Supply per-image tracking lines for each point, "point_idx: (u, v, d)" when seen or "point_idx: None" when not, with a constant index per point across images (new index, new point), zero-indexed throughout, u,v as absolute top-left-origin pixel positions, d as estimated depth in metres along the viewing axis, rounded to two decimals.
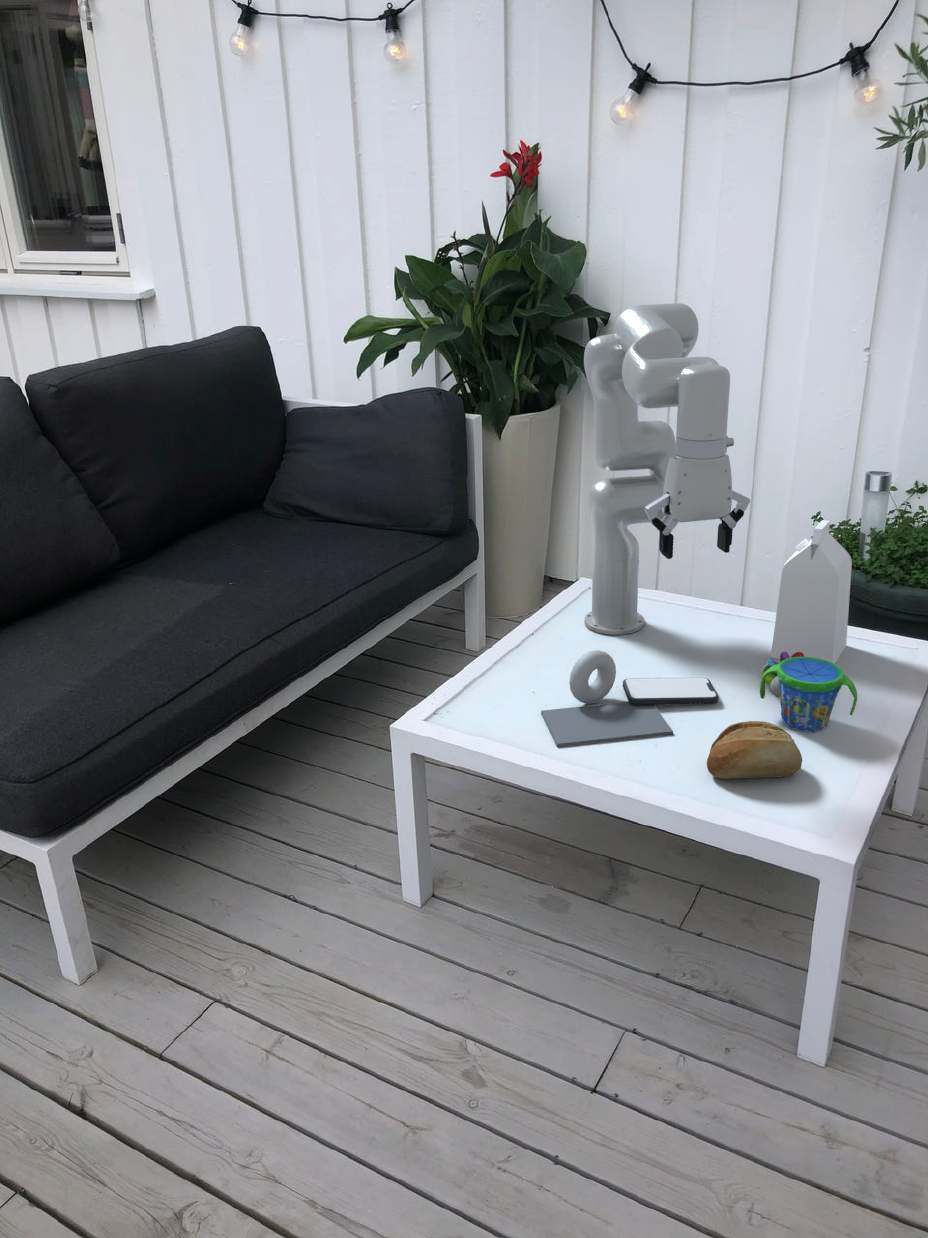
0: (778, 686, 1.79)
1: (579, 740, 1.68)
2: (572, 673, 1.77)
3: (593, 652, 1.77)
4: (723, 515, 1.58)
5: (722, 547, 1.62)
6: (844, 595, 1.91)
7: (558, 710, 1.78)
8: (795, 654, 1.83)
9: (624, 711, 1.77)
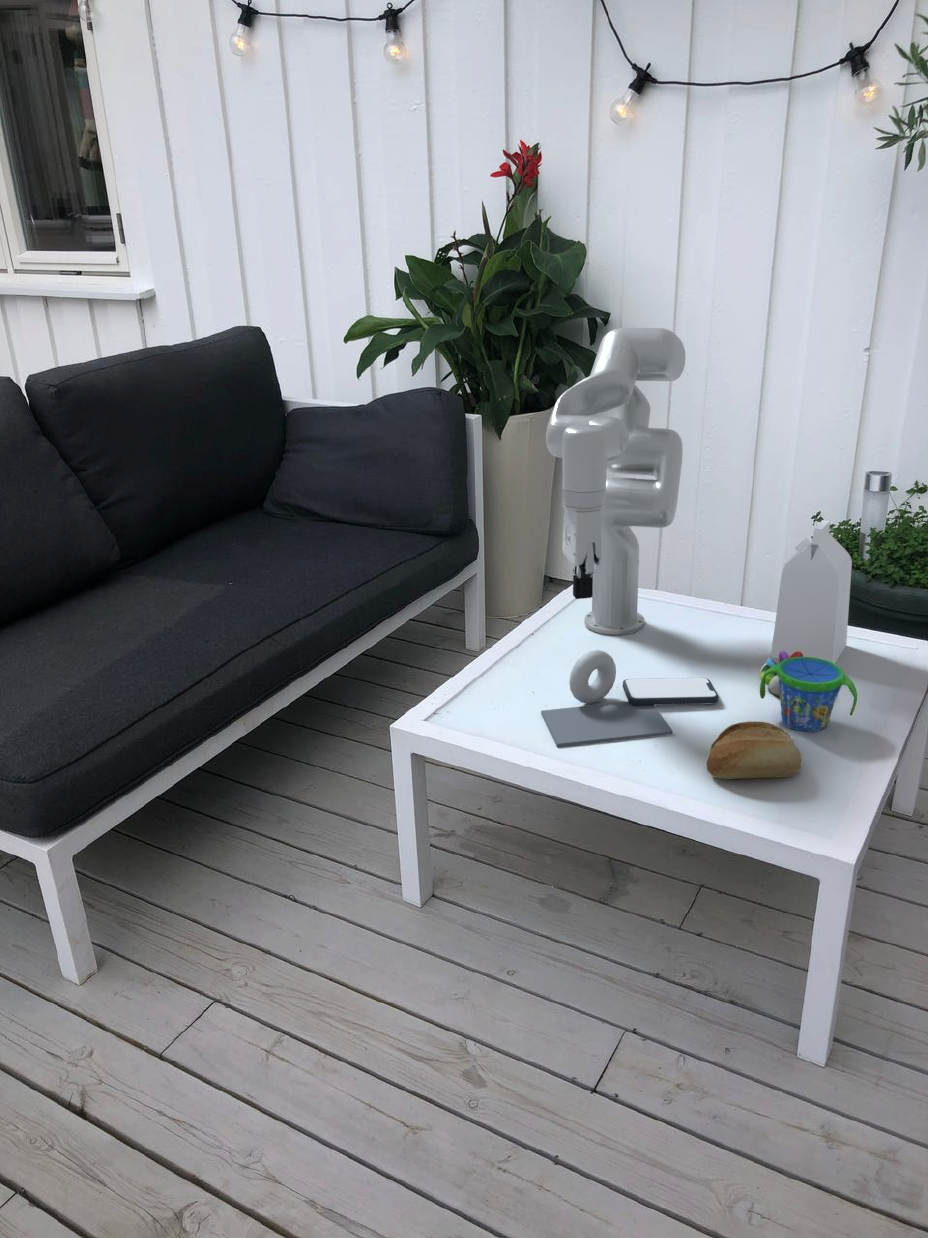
0: (777, 685, 1.79)
1: (579, 740, 1.68)
2: (572, 673, 1.77)
3: (593, 652, 1.77)
4: None
5: None
6: (844, 595, 1.91)
7: (558, 710, 1.78)
8: (794, 654, 1.83)
9: (624, 711, 1.77)
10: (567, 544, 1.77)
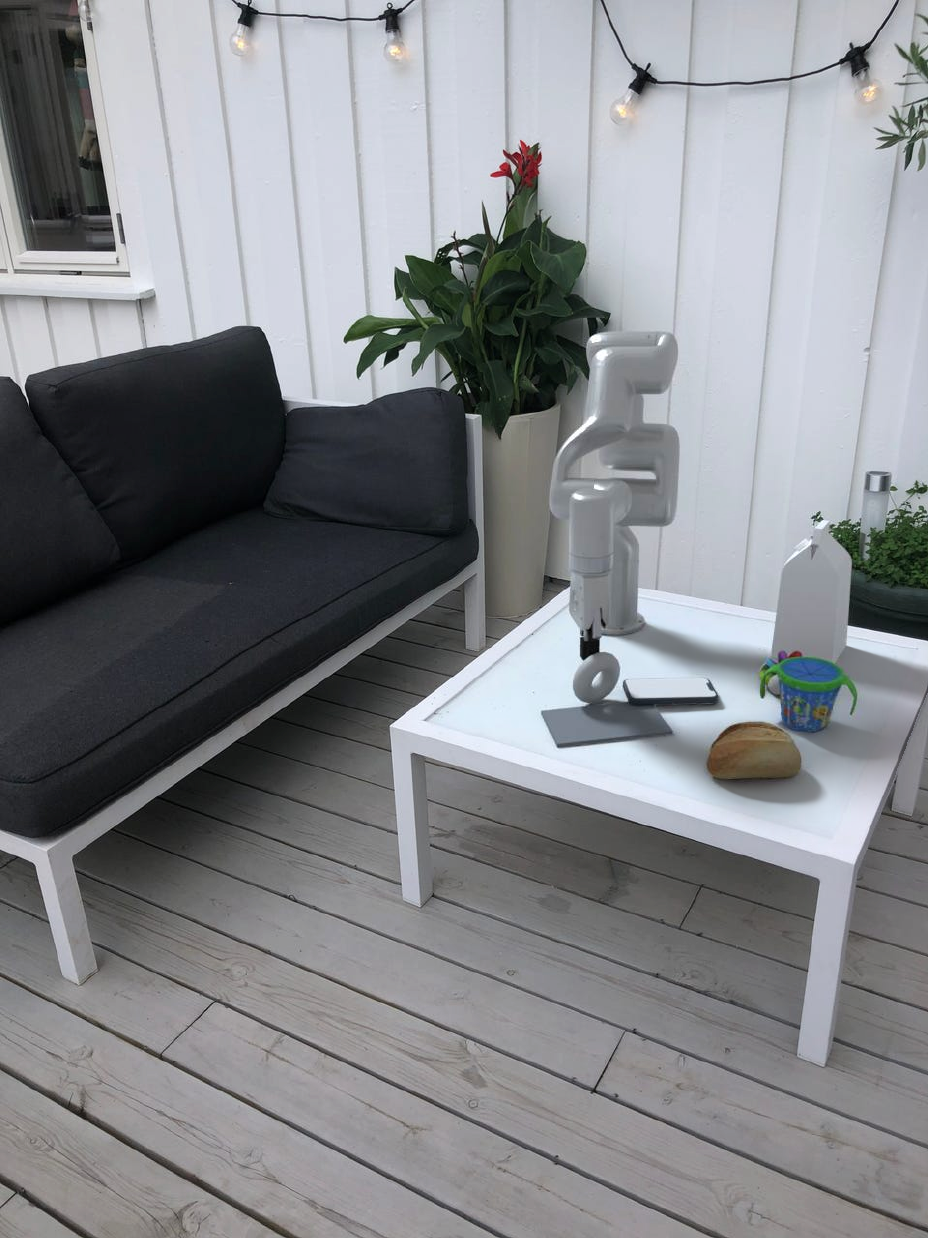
0: (776, 685, 1.80)
1: (579, 740, 1.68)
2: (577, 673, 1.76)
3: (600, 655, 1.76)
4: None
5: None
6: (844, 595, 1.91)
7: (558, 710, 1.78)
8: (793, 653, 1.83)
9: (624, 711, 1.77)
10: (574, 607, 1.77)
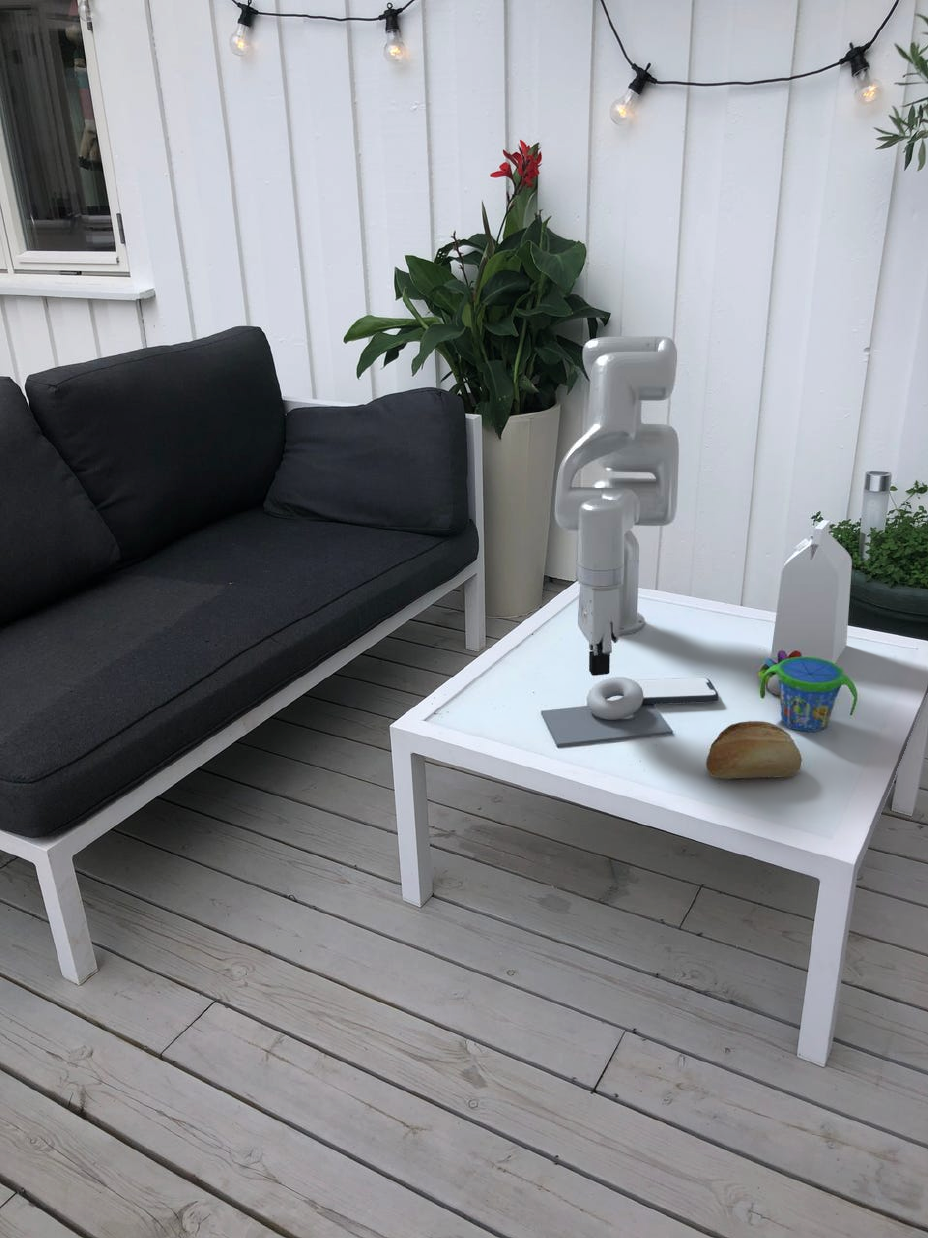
0: (775, 685, 1.80)
1: (579, 740, 1.68)
2: (605, 714, 1.72)
3: (635, 708, 1.72)
4: None
5: None
6: (844, 595, 1.91)
7: (558, 710, 1.78)
8: (792, 653, 1.83)
9: None
10: (583, 620, 1.71)
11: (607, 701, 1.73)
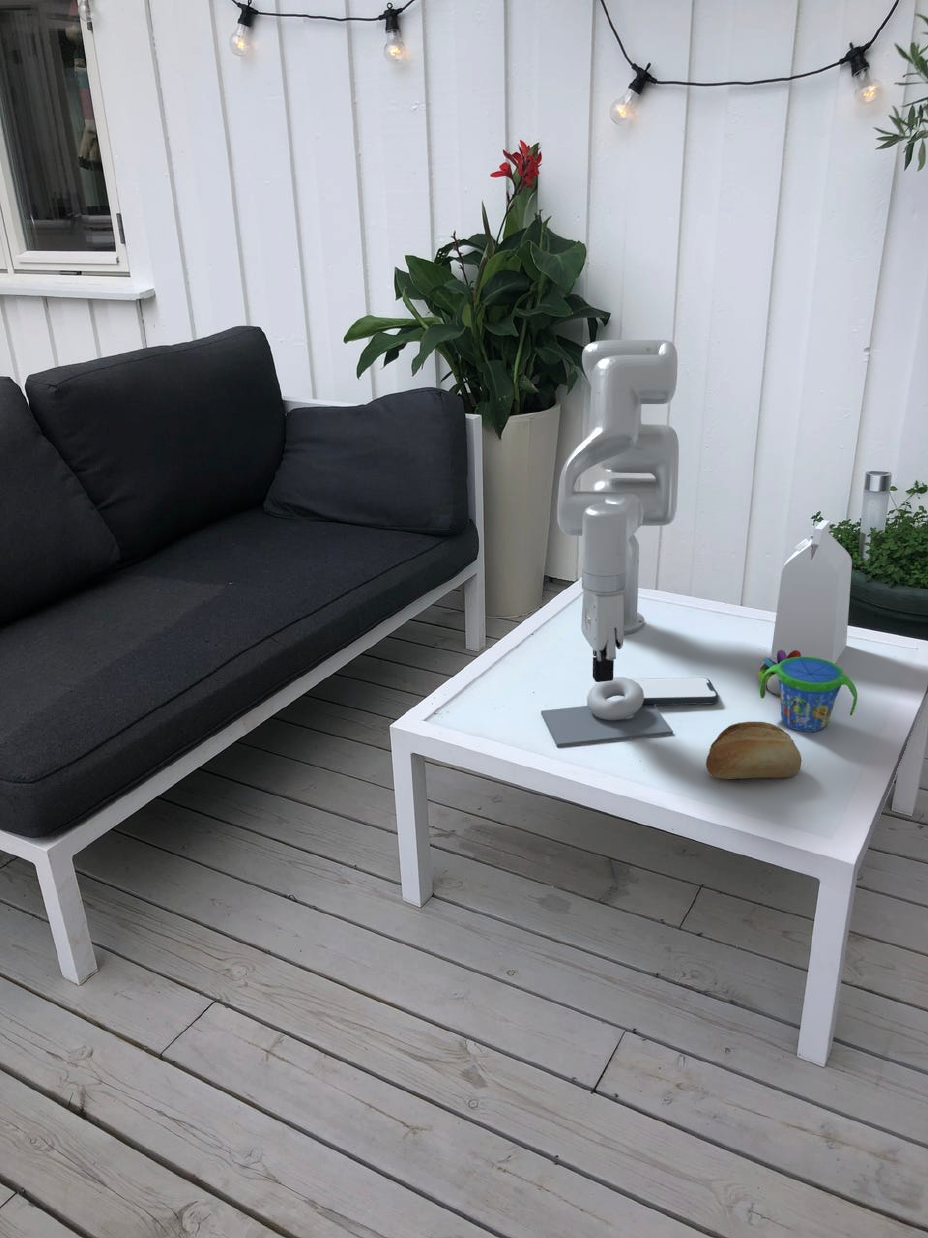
0: (775, 684, 1.80)
1: (579, 740, 1.68)
2: (605, 714, 1.72)
3: (636, 709, 1.72)
4: None
5: None
6: (844, 595, 1.91)
7: (558, 710, 1.78)
8: (792, 652, 1.83)
9: None
10: (587, 626, 1.69)
11: (607, 702, 1.73)
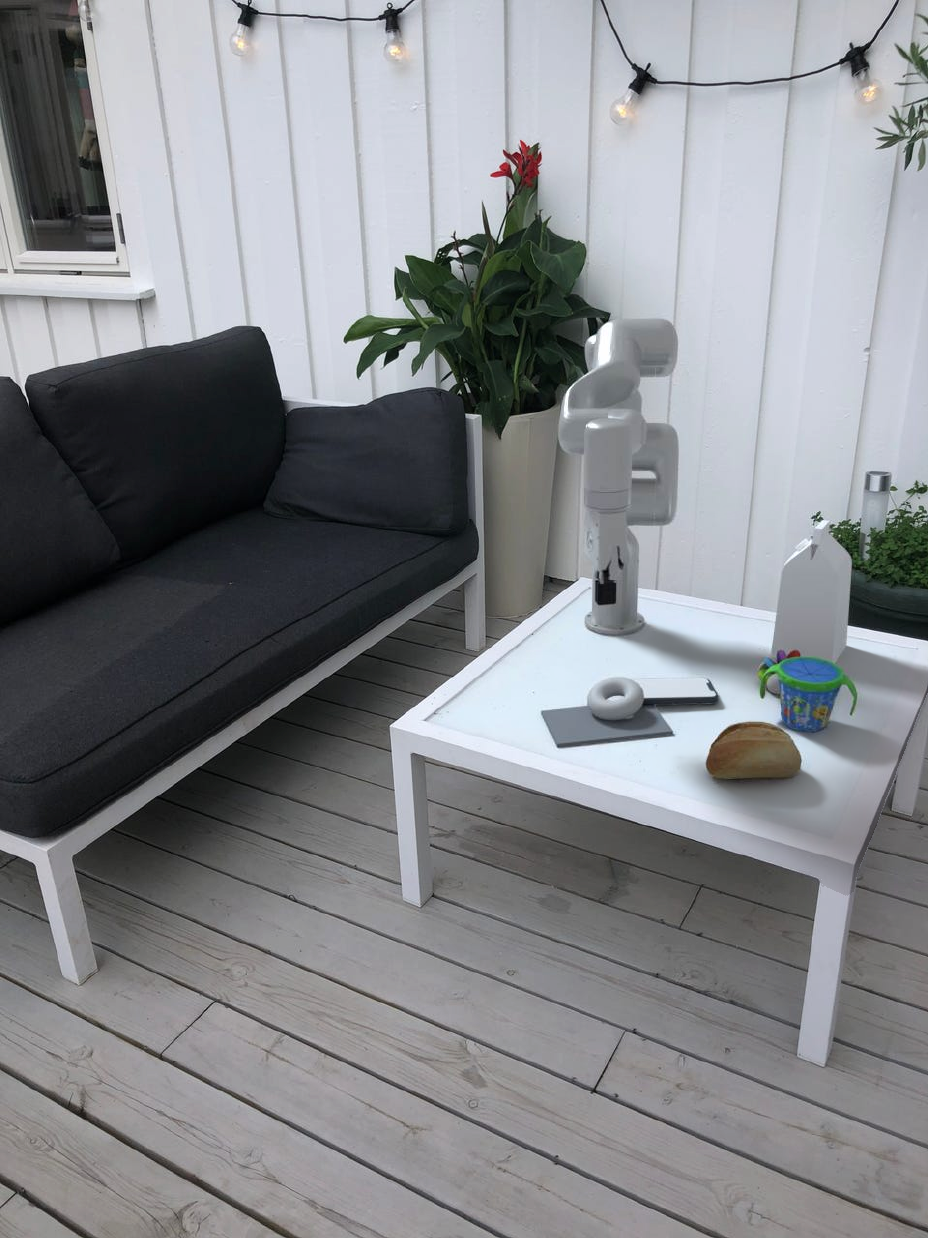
0: (774, 684, 1.80)
1: (579, 740, 1.68)
2: (605, 714, 1.72)
3: (636, 709, 1.72)
4: None
5: None
6: (844, 595, 1.91)
7: (558, 710, 1.78)
8: (791, 652, 1.83)
9: None
10: (589, 547, 1.65)
11: (607, 702, 1.73)
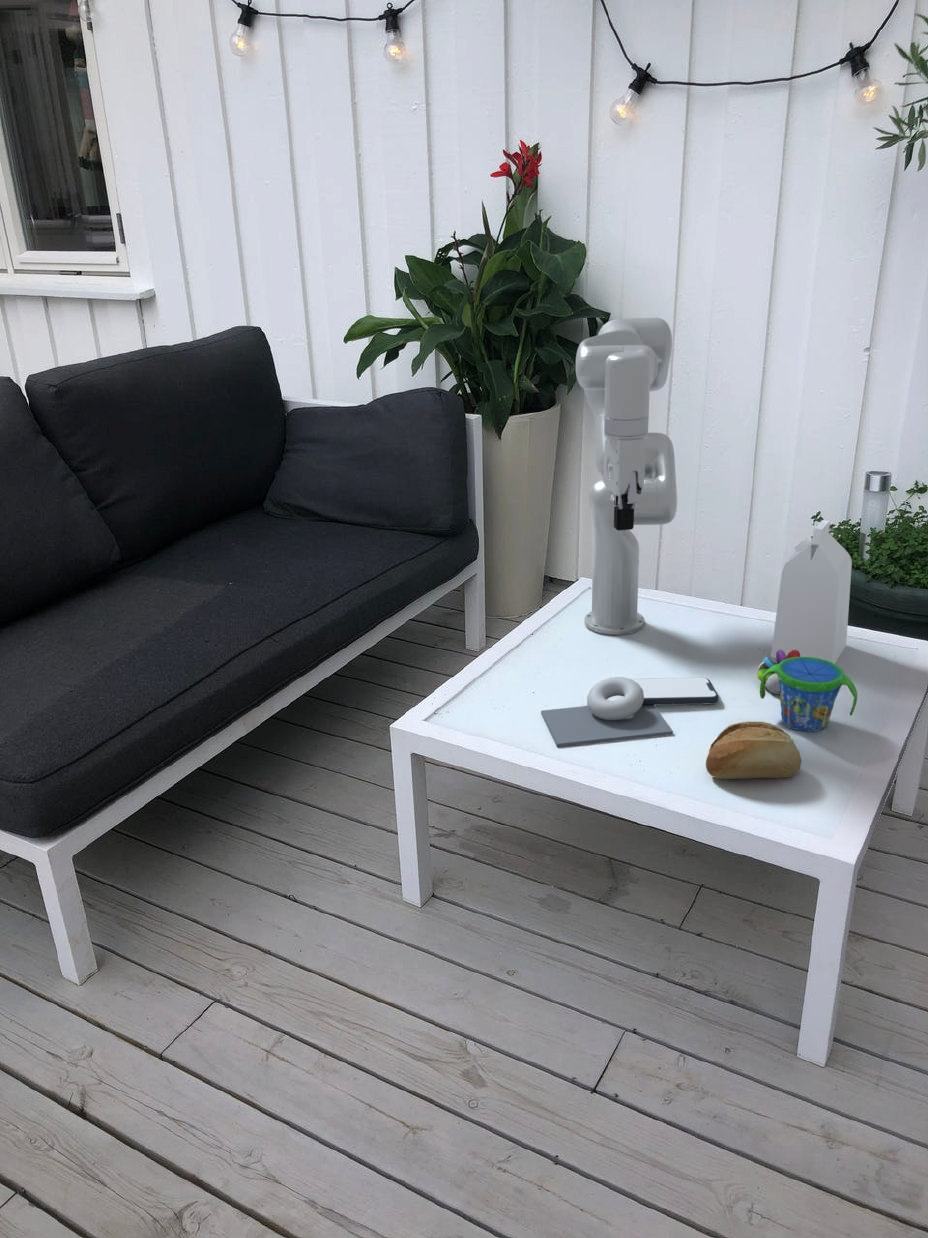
0: (774, 684, 1.80)
1: (579, 740, 1.68)
2: (605, 714, 1.72)
3: (636, 709, 1.72)
4: None
5: None
6: (844, 595, 1.91)
7: (558, 710, 1.78)
8: (791, 652, 1.83)
9: None
10: (609, 474, 1.76)
11: (607, 702, 1.73)
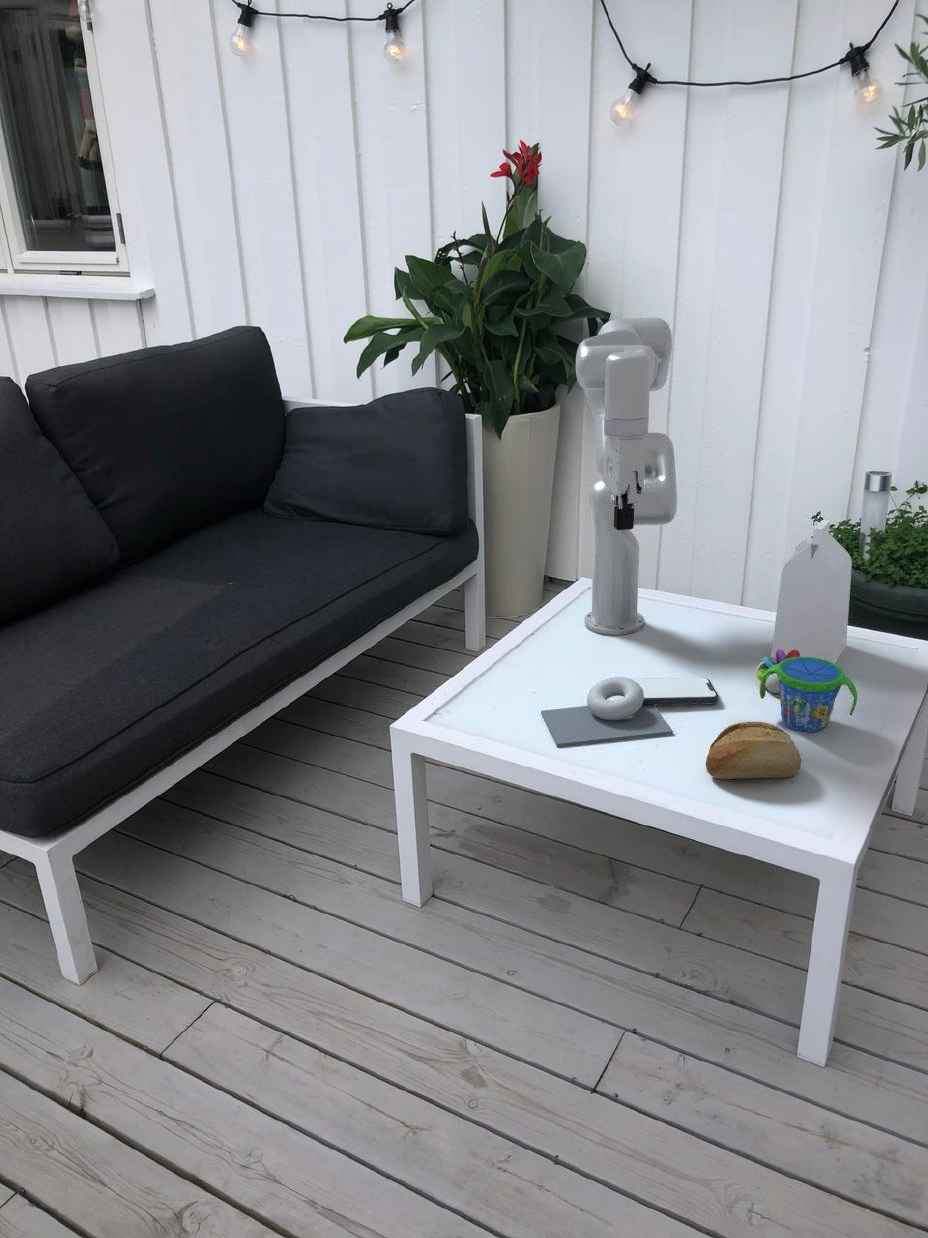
0: (774, 684, 1.80)
1: (579, 740, 1.68)
2: (605, 714, 1.72)
3: (636, 709, 1.72)
4: None
5: None
6: (844, 595, 1.91)
7: (558, 710, 1.78)
8: (791, 652, 1.83)
9: None
10: (609, 474, 1.76)
11: (607, 702, 1.73)
